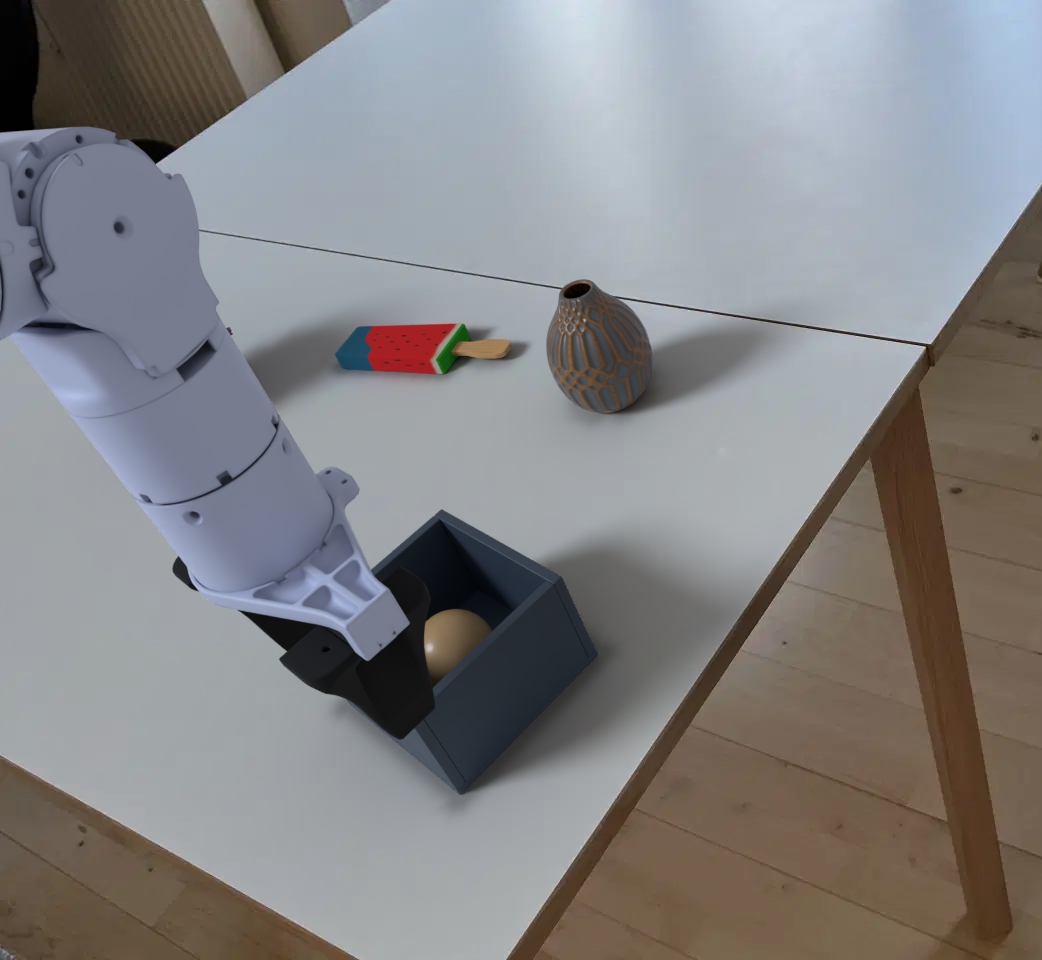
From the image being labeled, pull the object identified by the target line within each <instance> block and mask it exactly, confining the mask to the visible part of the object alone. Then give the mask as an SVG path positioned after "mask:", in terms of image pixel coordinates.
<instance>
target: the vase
mask: <svg viewBox="0 0 1042 960" xmlns="http://www.w3.org/2000/svg"><path fill="white" fill-rule="evenodd" d="M545 341H546V343H545V345H546V347H545V348H546V349H545V350H546V358H547V365H548V367H549V370H550V372H551V375H552V377H553V380H554V381H555V383H556V385H557V387H558V388H559V390H560V391H561V393H562V394H563V395H564V396H565V397H566V398H567V399H568V400H569V401H570V402H572V403H573V404H574V405H575V406H577V407H579V408H581V409H583V410H586V411H589V412H592V413H597V414H612V413H617V412H620V411H622V410H625V409H626V408H628V407H630V406H632V405H633V404H634V403H635V402H637V400H638V399H639V398H640V397H641V395H642V394H643V393H644V392H645V391H646V389H647V387H648V384H649V382H650V380H651V377H652V372H653V361H654V359H653V350H652V349H653V348H652V344H651V342H650V338H649V334H648V332H647V329H646V327H645V326H644V324H643V322H642V320H641V318H640V317H639V316H638V314H636V312H635V311H634V310H633V308H631V306H629V305H628V304H627V303H625V302H624V301H623V300H621V299H620V298H617V297H616V296H614V295H611V294H610V293H607V292H606V291H604V290H602V289H601V287H599V286H598V285H597V284H596V283H595V282H594V281H592V280H590V279H585V278H584V279H583V278H582V279H575V280H572V281H570V282H568V283H566V284H565V285H564V286H563V287H562V288H561V289H560V291H559V293H558V300H557V306H556V309H555V311H554V313H553V316H552V318H551V321H550V323H549V326H548V330H547V333H546V340H545Z"/></svg>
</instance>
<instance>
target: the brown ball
mask: <svg viewBox="0 0 1042 960" xmlns="http://www.w3.org/2000/svg"><path fill="white" fill-rule="evenodd" d="M491 632H492V629H491V628H490V626H489V625H488V624H487V622H486V621H485V620H484V619H482V618H481V617H480V616H478V615H477V614H475V613H473V612H470V611H467V610H462V609H451V610H445V611H442V612H440V613H437V614H436V615H434V616H432V617H431V618H430V619H428V620H427V621H426V623H425V633H424V646H425V655H426V661H427V666H428V670H429V675H430V679H431V683H432V687H434V686H435V685H436V684H437V683H438V682H440V681H441V680H442V679H443V678H444V677H445V676H446V675H447V674H448V673H449V672H450V671H451V670H452V669H453V668H454V667H455V666H456V665H457V664H458V663H460V662H461V661H462V660H463V659H464V658H465V657H466V656H467V655H468V654H469V653H470V652H471V651H472V650H473V649H474V648H475V647H476V646H477V645H478V644H480V643H481V642H482V641H483V640H484V639H485V638H486V637H487V636H488V635H489V634H490V633H491Z"/></svg>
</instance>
